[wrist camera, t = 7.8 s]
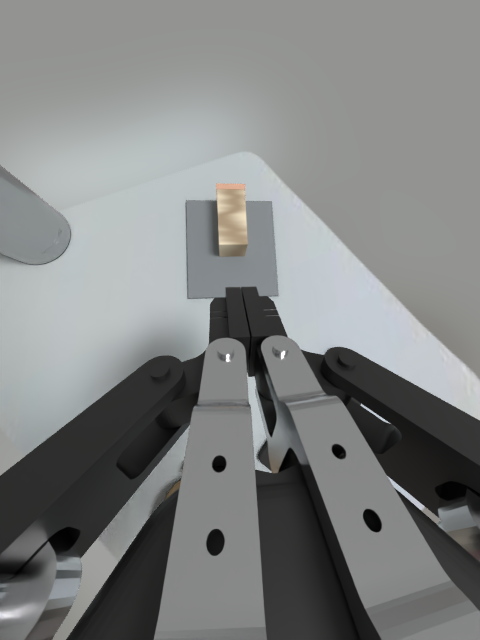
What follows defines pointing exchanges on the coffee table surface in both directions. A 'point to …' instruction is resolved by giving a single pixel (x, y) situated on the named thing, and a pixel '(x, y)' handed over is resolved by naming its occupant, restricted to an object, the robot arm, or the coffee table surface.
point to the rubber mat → (238, 271)
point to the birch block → (232, 220)
